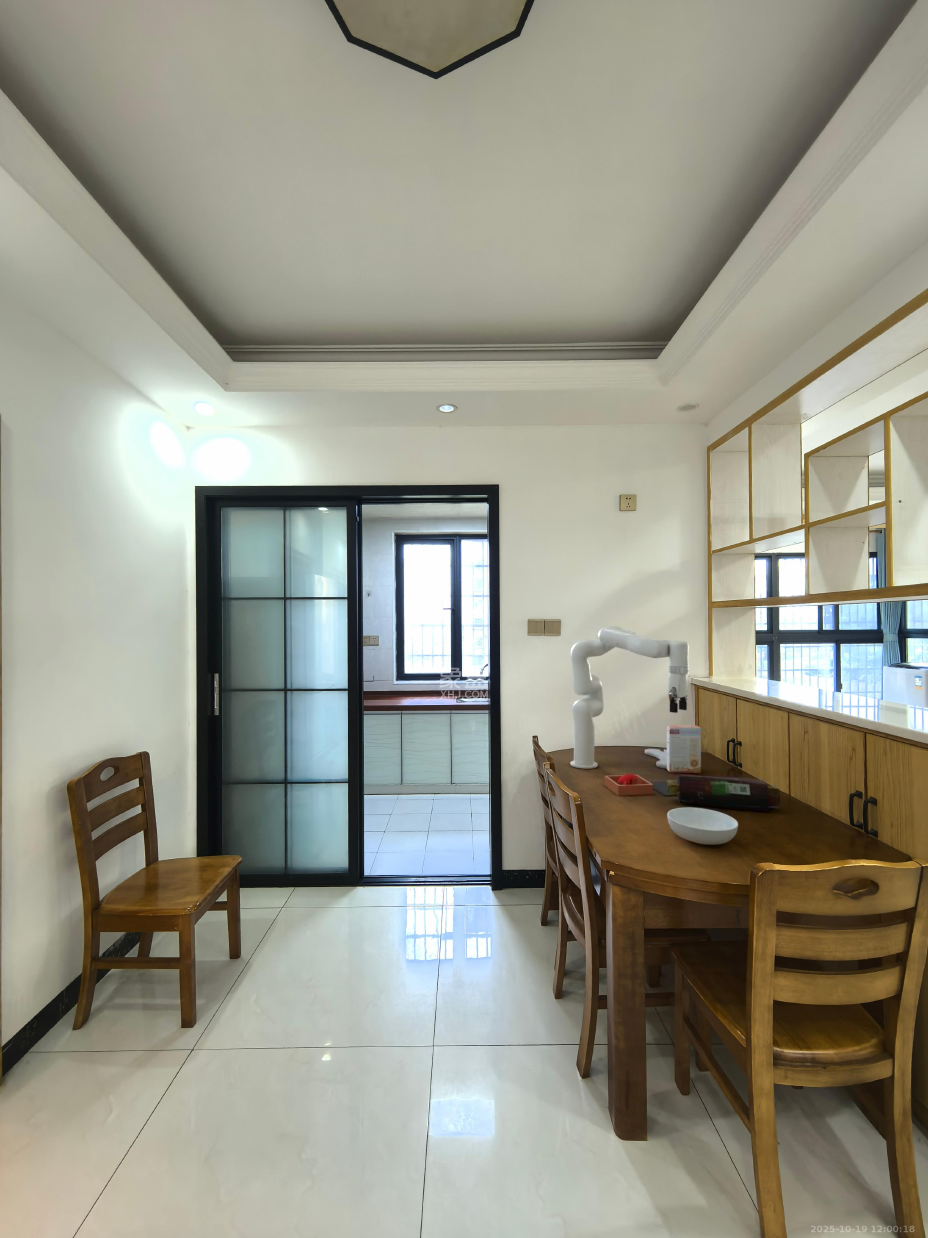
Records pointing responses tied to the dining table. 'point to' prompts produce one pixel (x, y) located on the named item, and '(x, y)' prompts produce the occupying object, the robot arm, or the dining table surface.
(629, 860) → the dining table surface
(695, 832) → the serving bowl
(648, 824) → the dining table surface
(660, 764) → the holder
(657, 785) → the mat
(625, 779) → the cap
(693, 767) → the cracker box
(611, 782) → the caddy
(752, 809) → the packaged item
